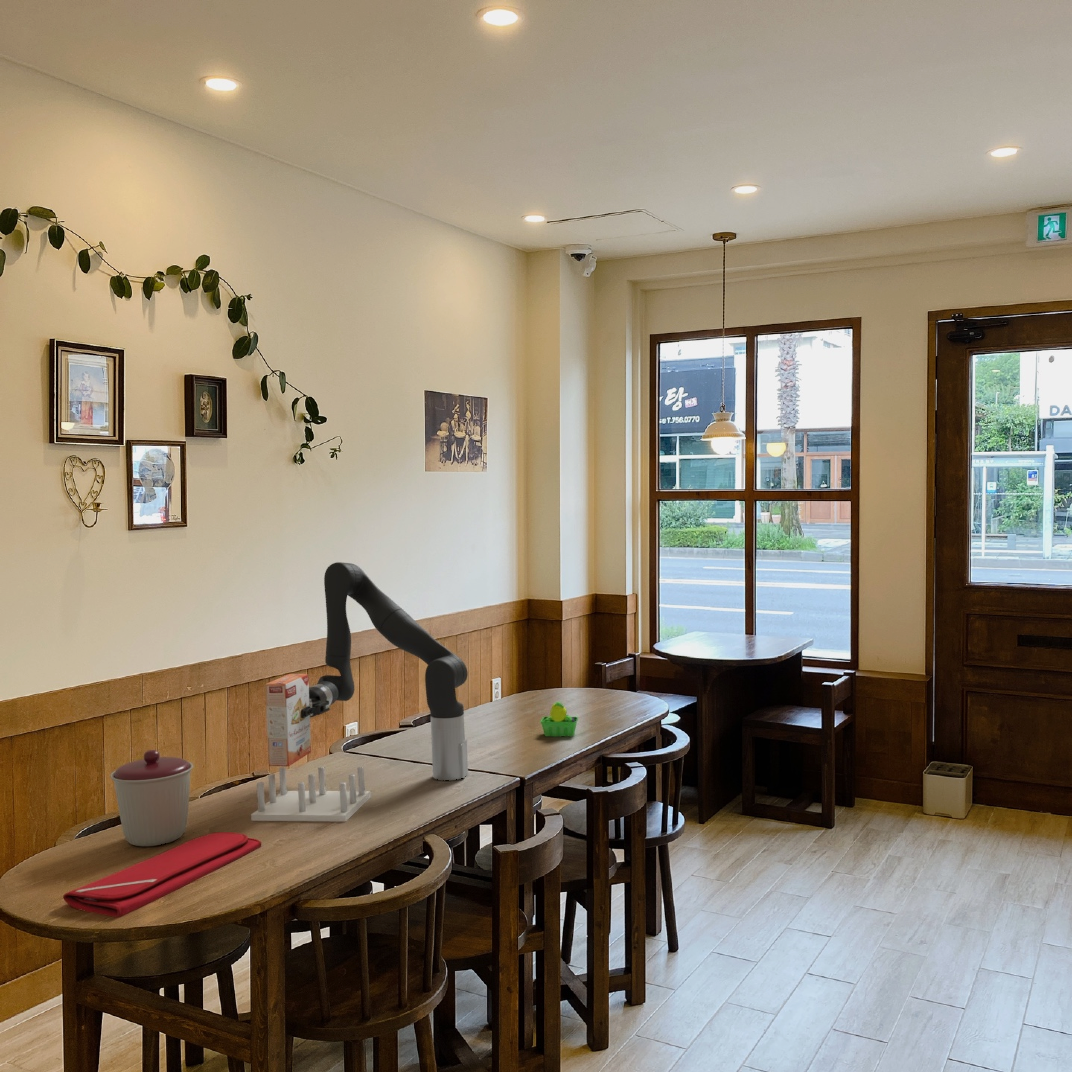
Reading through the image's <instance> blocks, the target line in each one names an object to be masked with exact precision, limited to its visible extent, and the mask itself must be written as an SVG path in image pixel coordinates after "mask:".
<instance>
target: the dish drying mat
mask: <svg viewBox="0 0 1072 1072" xmlns="http://www.w3.org/2000/svg"><path fill="white" fill-rule="evenodd" d="M260 847H262V841H261V840H259V839H257V838H251V837H248V835H246V834H245V833H237V832H229V831H228V832H227V831H219V832H212V833H209V834H206V835H202V836H199V837H196V838H193V839H191V840H189V841H186V842H184V843H182V844H180V845H178V846H175V847H173V848H170V849H169V850H166V851H164V852H161V853H160V854H157V855H155V856H153V857H150V858H148V859H145V860H143V861H140V862H138V863H135V864H132V865H131V866H128V867H126V868H124V869H122V870H120V871H119V870H118V871H117V872H115V873H112V874H109V875H107V876H105V877H102V878H100V879H98V880H95V881H93V882H89V883H87V884H85V885H83V886H80V887H77V888H75V889H71V890H70V891H68V892H66V893H64V894H63V898H62V899H63V900H64V902H65V903H67V904H68V905H69V906H70V907H72V908H74V909H75V908H76V909H75V910H78V909H82V910H85V911H84V912H87V913H88V912H89V913H92V912H93V914H99V915H104V916H109V917H114V918H120V917H123V916H125V915H127V914H129V913H132V912H133V911H135V910H137V909H140V908H141V907H144V906H146V905H148V904H150V903H152V902H154V901H156V900H158V899H160V898H163V897H164V896H167V895H168V894H170V893H173V892H175V891H177V890H178V889H181V888H182V887H185V886H186V885H189V884H191V883H192V882H194V881H197V880H198V879H200V878H203V877H205V876H207V875H209V874H211V873H212V872H215V871H216V870H218V869H221V868H222V867H224V866H226V865H228V864H230V863H232V862H234V861H236V860H238V859H240V858H242V857H244V856H245V855H248V854H249V853H251V852H253V851H255V850H257V849H259V848H260ZM82 910H81V911H82Z"/></svg>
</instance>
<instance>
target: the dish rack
mask: <svg viewBox="0 0 1072 1072" xmlns="http://www.w3.org/2000/svg"><path fill="white" fill-rule="evenodd" d="M317 770H318V774H317V775H318V776H317V777H318V790H316V775H315V773H313V774H308V775H307V778H308V790H306V786H305V784H306V783H305V782H304V781H299V782H298V783H297V787H298V788H297V789H298V790H287V775H286V774H287V772H286V771H287V769H286V766H279V768H278V771H279V773H278V774H279V791H280V792H279V793H278V794H277V793H276V791H277V790H276V775H275V773H274V774H273V773H271V774H268V796H269V801H268V802H266V803H265V786H264V784H265V783H264V781H257V782H256V789H257V791H256V792H257V793H256V796H257V810H256V811H253V813H251V814H250V818H251V819H250V820H251V821H252V822H253V821H254V822H255V821H256V822H257V821H258V822H340V823H341V822H345V823H346V822H347V821H348V820H349V819H350V818H351V817H352V816H353V815H354V814H355V813H357V811H359V809H360V808H361V807H362V806H363V805H364V804H365V803H367V802H368V800H369V799H371V797H372V793H371V790H366V788H365V787H366V785H365V767H364V766H359V767H357V785H358V787H357V786H356V774H348V788H349V789H348V790H347V782H339V784H338V785H339V790H326V776H325V775H326V773H325V767H324V766H319V767H317Z"/></svg>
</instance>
